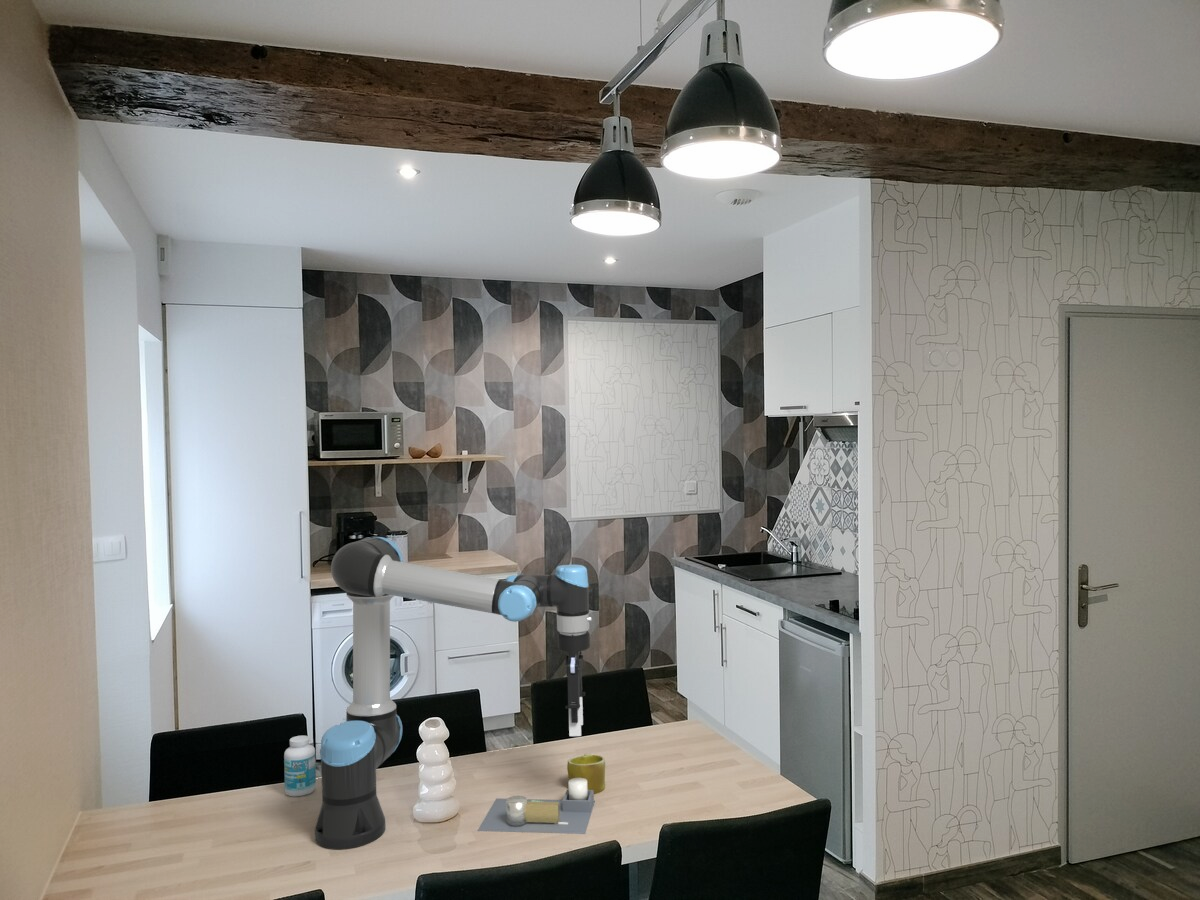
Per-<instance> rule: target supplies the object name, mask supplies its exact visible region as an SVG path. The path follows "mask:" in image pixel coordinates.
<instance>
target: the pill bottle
mask: <svg viewBox="0 0 1200 900" xmlns="http://www.w3.org/2000/svg"><path fill="white" fill-rule="evenodd" d="M283 754H284V755H283V759H284V760H283V763H284V765H283V766H284V793H285V794H286V795H287V796H289V797H297V798H298V797H304V796H307V795H310V794H312V793H313V792H314V791H315V790H316V787H317V782H316V781H317V780H316V779H317V777H316V776H317V775H316V773H317V771H316V767H317V766H316V749H315V747H314V745H312V744H310V737H309V735H297V736H292V737H291V738H290V739H289V747H288V748H286V749H285V751H284V753H283Z"/></svg>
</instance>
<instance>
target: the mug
mask: <svg viewBox="0 0 1200 900" xmlns="http://www.w3.org/2000/svg"><path fill="white" fill-rule="evenodd" d="M566 766H567V768H566V769H567V777H568V781H569V780H570V779H573V778H584V779H586V780H587V790H594V795H597V794H600V793H602V792H604V791H605V789H606V761H605V758H604V757H603V756H601V755H598V754H597V755H596V754H592V753H584V754H583V755H580V756H579V755H578V756H573V757H571V758H569V759H567V765H566Z"/></svg>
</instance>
